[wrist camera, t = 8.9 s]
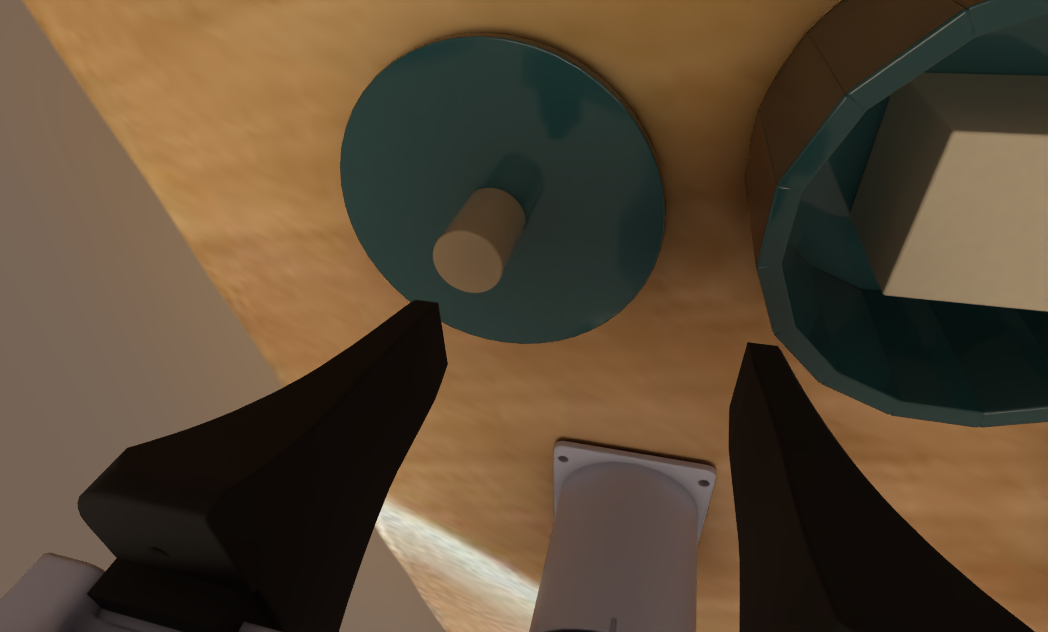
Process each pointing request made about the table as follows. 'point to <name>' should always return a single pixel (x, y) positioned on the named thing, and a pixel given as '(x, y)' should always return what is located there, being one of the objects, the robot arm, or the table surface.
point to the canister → (831, 237)
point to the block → (960, 191)
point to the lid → (503, 187)
